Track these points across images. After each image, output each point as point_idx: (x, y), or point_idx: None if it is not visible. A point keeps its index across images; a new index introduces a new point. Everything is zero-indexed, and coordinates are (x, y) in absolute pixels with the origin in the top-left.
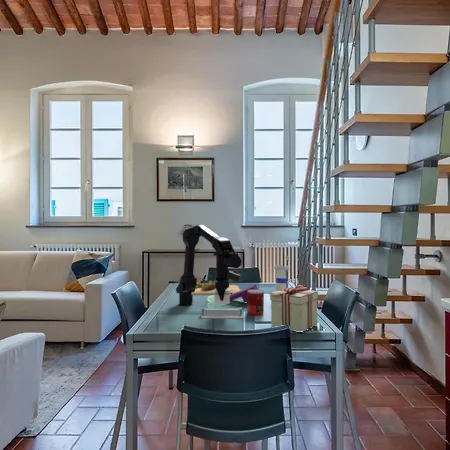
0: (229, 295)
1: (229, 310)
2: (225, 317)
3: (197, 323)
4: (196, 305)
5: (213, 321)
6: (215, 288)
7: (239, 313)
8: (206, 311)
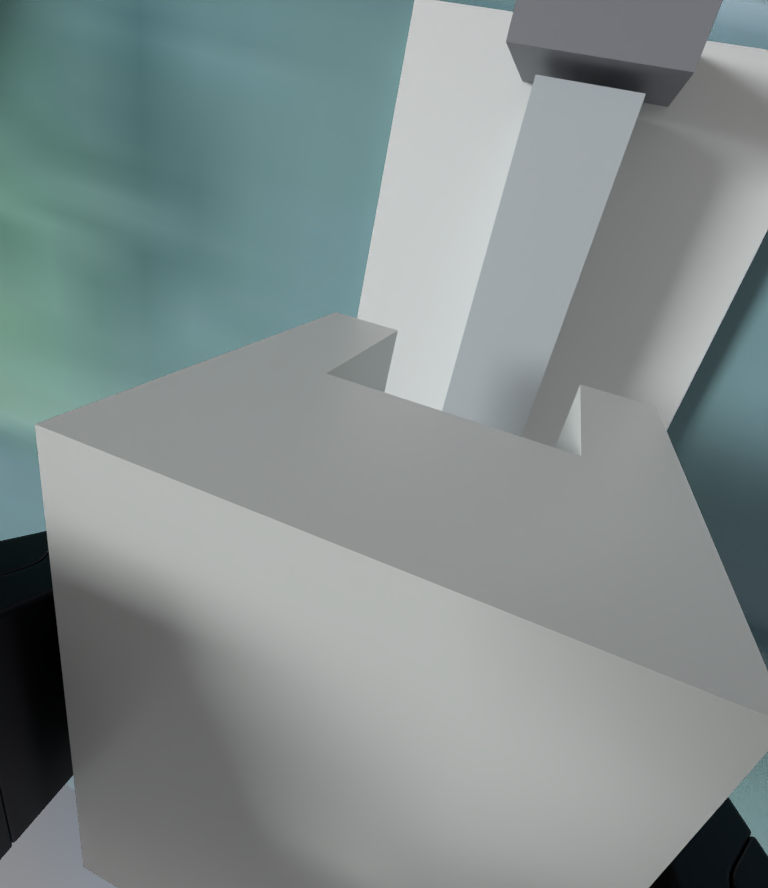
0: (703, 542)
1: (557, 334)
2: (669, 424)
3: (755, 810)
4: (15, 524)
5: (759, 631)
6: (88, 857)
7: (506, 78)
8: None
